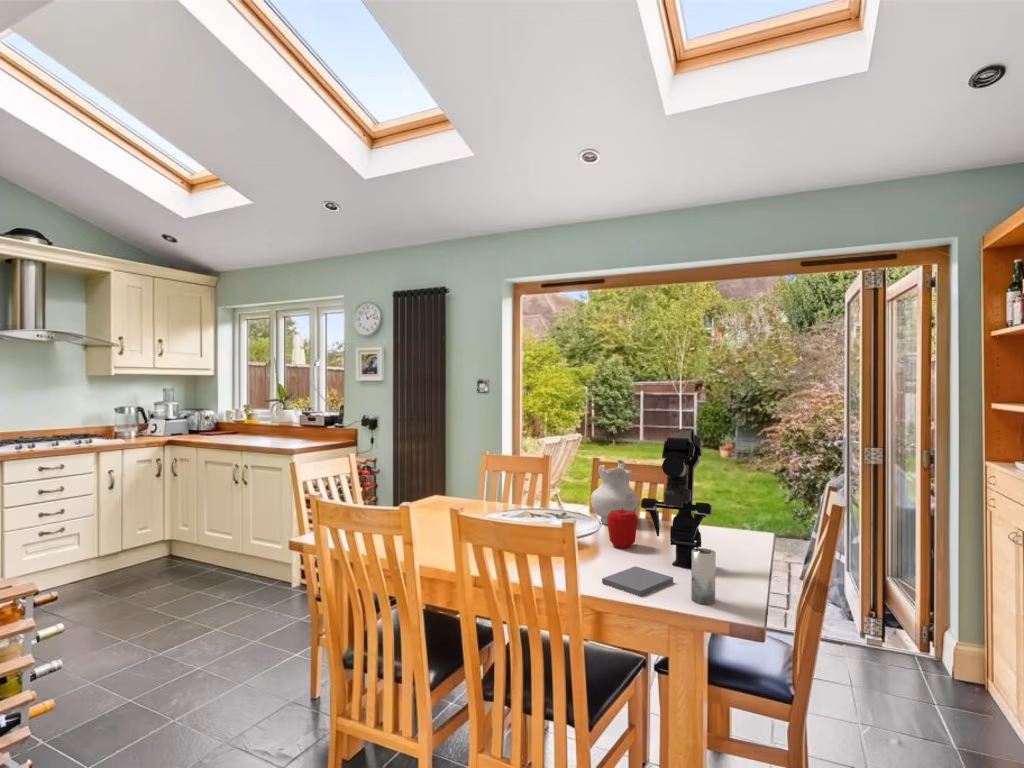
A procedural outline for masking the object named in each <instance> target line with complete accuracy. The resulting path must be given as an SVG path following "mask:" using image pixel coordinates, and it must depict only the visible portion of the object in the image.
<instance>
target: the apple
mask: <svg viewBox="0 0 1024 768" xmlns="http://www.w3.org/2000/svg"><path fill="white" fill-rule="evenodd" d="M638 521H639V520H638V515H637V513H636V512H634V511H630V510H623V508H622V510H612V511H610V512H609V514H608V515H607V531H608V536H609V541H610V542H611V544H612V545H613V546H614V547H615V548H619V549H629V548H631V547H632V546H633V544H634V543H636V535H637V529H638Z"/></svg>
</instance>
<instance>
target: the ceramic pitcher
mask: <svg viewBox="0 0 1024 768" xmlns="http://www.w3.org/2000/svg"><path fill="white" fill-rule="evenodd" d="M617 462H618V464H617V465H618V466H617V467H612V468H608V469H606V466H605V464H601V465H598V469H597V470H598V475H599V477H600V485H599V487H598V488H596V489H595V490H593V492H592V493H591V495H590V505H591V509H592V510H593V511H594V513H595V514H596V515H597V516H599V517H600V520H601V522H602V524H601V525H604V526H605V525H607V515H608V514H609V512H610V511H612V510H622V508H623V510H630V511H634V512H635V513H636V512H637V510H638V509H639V504H640V497H639V495H638V494H637V493H636V492H635V491H634V490H633V489H632V487H631V486H630V478H631V476H632V475H633V471H632V470H631V469H629V470H628V469H626V463H625V461H624V460H623V459H621V458H619V459H618V461H617ZM607 526H608V525H607Z"/></svg>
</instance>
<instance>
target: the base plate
mask: <svg viewBox="0 0 1024 768" xmlns="http://www.w3.org/2000/svg"><path fill="white" fill-rule="evenodd" d="M601 582H602V583H603V585H605V584H606V585H605V586H608V585H609V587H611V586H612V587H611V588H614V587H615V588H614V589H617V588H618V589H617V590H619V589H621V590H620V591H622V590H624V591H623V592H625V591H626V593H628V592H629V594H631V593H632V594H631V595H634V594H635V595H634V596H637V595H638V597H640V596H641V597H642V596H646V595H648V594H650V593H651V592H652V593H653V592H655V591H657V590H660V589H661V587H662V588H664V587H666V586H668V584H669V585H670V583H671V584H674V576H670V575H666V574H663V573H660V572H656V571H653V570H649V569H646V568H642V567H640V566H636V565H635V566H632V567H630V568H627V569H624V570H622V571H619V572H616V573H613V574H610V575H608V576H604V577H602V578H601ZM602 583H601V584H602ZM665 585H666V586H665ZM663 586H664V587H663ZM654 590H655V591H654ZM647 593H648V594H647Z"/></svg>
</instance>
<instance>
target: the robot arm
mask: <svg viewBox="0 0 1024 768" xmlns="http://www.w3.org/2000/svg"><path fill="white" fill-rule="evenodd" d="M702 453H703V445H702V439H701V438H700V437H699V436H697V435H696V433H695V430H694V429H690V428H680V429H677V433H676V435H675V436H668V437H666V440H664V443H663V449H662V454H661V456H662V457H661V458H662V459H664V460H663V462H662V464H661V465H662V466H661V469H662V472H663V473H664V474H665V476H666V488H665V490H664V492H663V501H658V500H659V499H656V498H648V497H642V498H641V500H640V508H642V509H644V510H645V512H647V513H649V515H650V518H651V520H652V523H653V525H654V526H653V527H654V529H655V533H656V536H657V537H659V536H660V512H659V511H658V509H666V510H678V512H677V514H676V515H675V516H674V517H673V518H672V525H670V527H669V528H670V529H669V535H670V536H669V538H670V546H675V560H674V561H673V562H672V563H671V565H672V566H676V567H681V568H682V567H683V568H687V569H692V549H695V548H702V534H701V532H700V528H699V527H700V525H701V522H702V521H703V519H704V518H705V519H706V518H708V515H709V516H712V515H713V505H712V504H710V503H708V502H707V503H706V502H699V501H698V502H697V501H696V502H695V504H693V503H694V480H695V469H696V467H697V466H698V465H699V464H700V460H701V459H700V457H702V455H703V454H702ZM693 512H695V513H693ZM693 514H694V515H693Z"/></svg>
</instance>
